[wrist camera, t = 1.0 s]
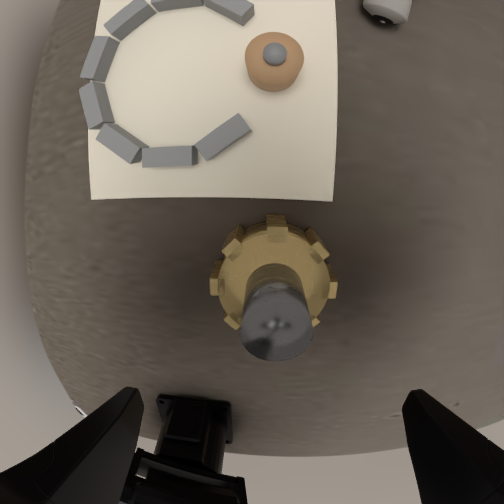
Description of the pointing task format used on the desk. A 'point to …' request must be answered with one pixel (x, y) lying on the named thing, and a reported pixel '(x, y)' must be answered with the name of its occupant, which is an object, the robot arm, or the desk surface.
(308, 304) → the planet gear
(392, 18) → the light bulb
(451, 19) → the desk surface
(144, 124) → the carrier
